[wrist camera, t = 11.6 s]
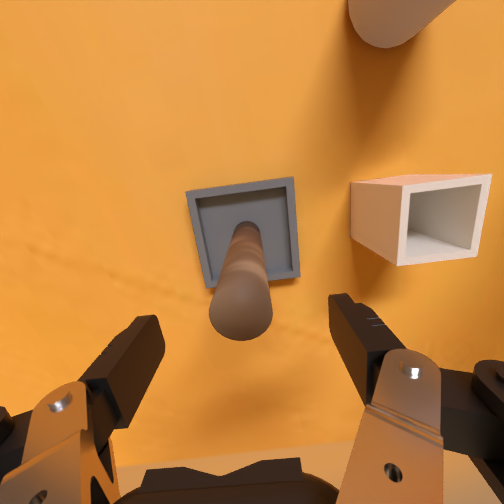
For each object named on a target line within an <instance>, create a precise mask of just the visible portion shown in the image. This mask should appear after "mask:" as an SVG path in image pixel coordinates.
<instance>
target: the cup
mask: <svg viewBox="0 0 504 504" xmlns="http://www.w3.org/2000/svg"><path fill="white" fill-rule="evenodd" d="M491 178H492V174H409V175H401V176H394V177H386V178H379V179H371V180H364V181H357V182H351V223H350V237H351V238H352V239H354V240H355V241H357V242H359V243H360V244H362V245H363V246H365V247H367V248H368V249H370V250H372V251H373V252H375V253H376V254H378V255H380V256H381V257H383V258H384V259H386V260H388V261H389V262H391V263H392V264H394V265H396V266H403V265H411V264H419V263H427V262H436V261H444V260H452V259H461V258H469V257H477V253H478V248H479V242H480V237H481V232H482V226H483V221H484V216H485V210H486V205H487V200H488V194H489V189H490V183H491Z"/></svg>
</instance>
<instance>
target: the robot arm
mask: <svg viewBox="0 0 504 504" xmlns="http://www.w3.org/2000/svg"><path fill="white" fill-rule="evenodd" d="M328 306H329V328H330V333H331V336H332V339H333V341H334V343H335V345H336V347H337V349H338V351H339V353H340V355H341V358H342V360H343V362H344V364H345V366H346V368H347V370H348V372H349V374H350V376H351V378H352V380H353V382H354V385H355V387H356V389H357V391H358V393H359V395H360V397H361V399H362V401H363V403H364V405H365V410H364V413H363V416H362V419H361V423H360V426H359V429H358V432H357V436H356V439H355V442H354V445H353V449H352V452H351V455H350V459H349V462H348V466H347V469H346V472H345V475H344V478H343V481H342V485H341V488H340V491H339V490H338V489H337V488H335V487H334V486H333V485H331V484H330V483H328V482H326V481H324V480H322V479H321V478H318V477H316V476H314V475H311V474H307V473H304V472H302V469H301V462H300V458H299V457H298V458H286V459H274V460H261V461H259V462H256V463H254V464H251V465H249V466H246V467H244V468H241V469H239V470H236V471H234V472H231V473H229V474H226V475H223V476H216V475H212V474H208V473H204V472H200V471H197V470H193V469H190V468H186V467H175V468H162V469H150V470H146V473H145V476H144V478H143V481H142V484H141V487H139V488H136V489H134V490H133V491H131V492H129V493H127V494H126V495H124V496H123V497H121V496H120V492H119V486H118V479H117V473H116V466H115V459H114V452H113V445H112V441H111V439H110V435H111V433H112V432H113V430H114V429H123V428H128V427H129V425H130V423H131V421H132V419H133V417H134V415H135V413H136V411H137V409H138V407H139V404H140V402H141V400H142V398H143V396H144V394H145V392H146V390H147V388H148V386H149V384H150V382H151V380H152V378H153V376H154V374H155V372H156V370H157V368H158V366H159V364H160V362H161V360H162V358H163V356H164V353H165V341H164V338H163V335H162V331H161V328H160V325H159V321H158V318H157V317H156V315H146V316H138V317H136V318H135V319H134V321H133V322H132V323H131V324H130V326H129V327H128V328H127V329H125V330H124V331H122V332H121V333H119V334H118V335H117V336H115V337H114V339H113V340H112V341H111V342H110V343H109V344H108V347H106V348H105V349H104V350H103V352H102V353H101V355H99V356H98V357H97V359H96V360H95V361H94V362H93V363H92V364H91V366H90V367H89V368H88V369H87V370H86V371H85V373H84V374H83V375H82V376H81V377H80V378H79V380H78V381H76V382H71V383H68V384H65V385H63V386H60V387H59V388H57V389H55V390H53V391H52V392H50V393H49V394H48V395H46V396H45V397H44V398H43V399H42V400H41V401H40V402H39V403H38V404H37V405H36V407H35V408H34V409H33V410H31V411H28V412H25V413H22V414H19V415H16V416H13V417H11V416H10V415H9V413H8V412H7V410H6V408H5V407H1V406H0V504H443V449H445V450H449V451H454V452H457V453H461V454H465V455H468V456H469V458H470V459H471V460H472V462H473V463H474V465H475V466H476V467H477V469H478V470H479V472H480V473H481V474H482V476H483V477H484V479H485V480H486V481H487V483H488V485H489V486H490V487H491V488H492V490H493V491H494V493H495V494H496V496H497V497H498V499H499V500H500V501H501V503H502V504H504V362H502V361H497V360H483V361H479V362H478V363H476V365H475V367H474V371H473V373H469V372H462V371H455V370H448V369H442V368H438V366H437V365H436V364H435V363H434V362H433V361H432V360H431V359H430V358H428V357H427V356H425V355H423V354H421V353H419V352H416V351H413V350H409V349H407V348H406V347H405V346H404V345H403V344H402V343H401V342H400V340H399V339H398V338H397V337H396V336H395V335H394V334H393V332H392V331H391V330H390V329H389V328H388V327H387V326H386V325H385V324H384V322H383V321H382V320H381V319H380V318H379V317H378V315H377V314H376V313H375V312H374V311H373V310H372V309H371V308H369V307H368V306H366V305H364V304H362V303H354V302H353V300H352V299H351V298H350V296H349V295H348V294H347V293H343V294H334V295H329V297H328Z"/></svg>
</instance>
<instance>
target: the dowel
mask: <svg viewBox="0 0 504 504" xmlns="http://www.w3.org/2000/svg"><path fill="white" fill-rule="evenodd" d="M272 316H273V311H272V304H271V298H270V292H269V285H268V279H267V273H266V266H265V260H264V254H263V247H262V241H261V235H260V230H259V228H258V226H257V225H256V224H255V223H253V222H250V221H243V222H241V223H239V224H238V225H237V226H236V227H235V230H234V233H233V236H232V239H231V242H230V245H229V248H228V251H227V254H226V258H225V261H224V264H223V267H222V270H221V273H220V276H219V279H218V283H217V286H216V289H215V292H214V295H213V298H212V301H211V304H210V308H209V318H210V321H211V323H212V325H213V327H214V328H215V330H216V331H217V332H218V333H220V334H221V335H222V336H224V337H226V338H229V339H232V340H237V341H246V340H251V339H254V338H256V337H258V336H260V335H261V334H263V333H264V332H265V331H266V330H267V328H268V327H269V325H270V323H271V321H272Z"/></svg>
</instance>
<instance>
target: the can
mask: <svg viewBox="0 0 504 504" xmlns="http://www.w3.org/2000/svg"><path fill="white" fill-rule="evenodd" d="M455 1H456V0H348V6H349V16H350V19H351V21H352V24H353V27H354V29H355V31H356V32H357V33H358V35H359V36H360V37H361V38H362V39H363V41H365V42H367V43H369V44H370V45H372V46H374V47H379V48H391V47H395V46H398V45H401V44H403V43H405V42H406V41H408V40H409V39H411V38H412V37H414V36H415V35H416V34H417V33H418V32H420V31H421V30H422V29H423V28H424V27H425V26H427V25H428V24H429V23H430V22H431V21H432V20H434V19H435V18H436V17H437V16H438V15H439V14H441V13H442V12H443V11H444V10H445V9H446V8H448V7H449V6H450V5H451V4H452V3H453V2H455Z"/></svg>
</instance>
